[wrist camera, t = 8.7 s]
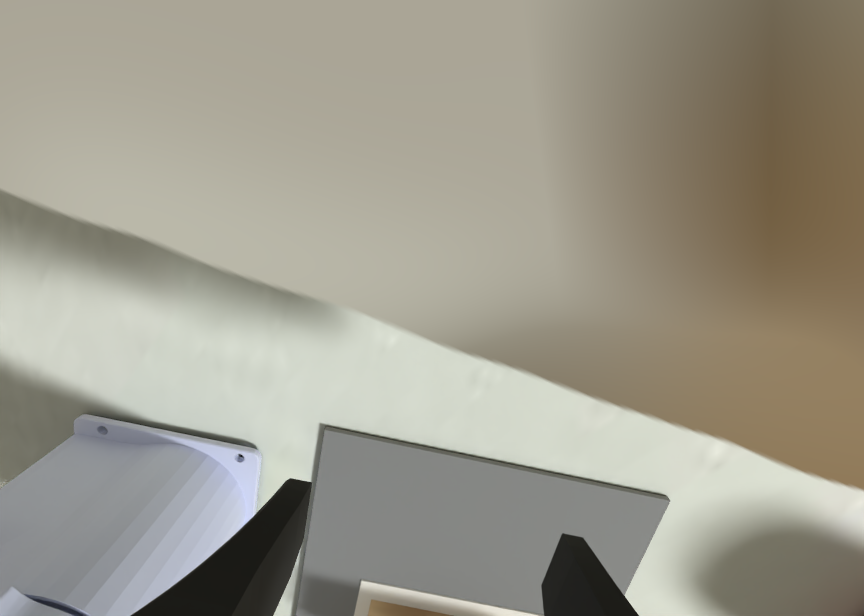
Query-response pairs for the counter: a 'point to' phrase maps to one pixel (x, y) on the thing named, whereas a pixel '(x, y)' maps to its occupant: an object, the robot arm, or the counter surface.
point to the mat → (454, 529)
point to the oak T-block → (398, 610)
